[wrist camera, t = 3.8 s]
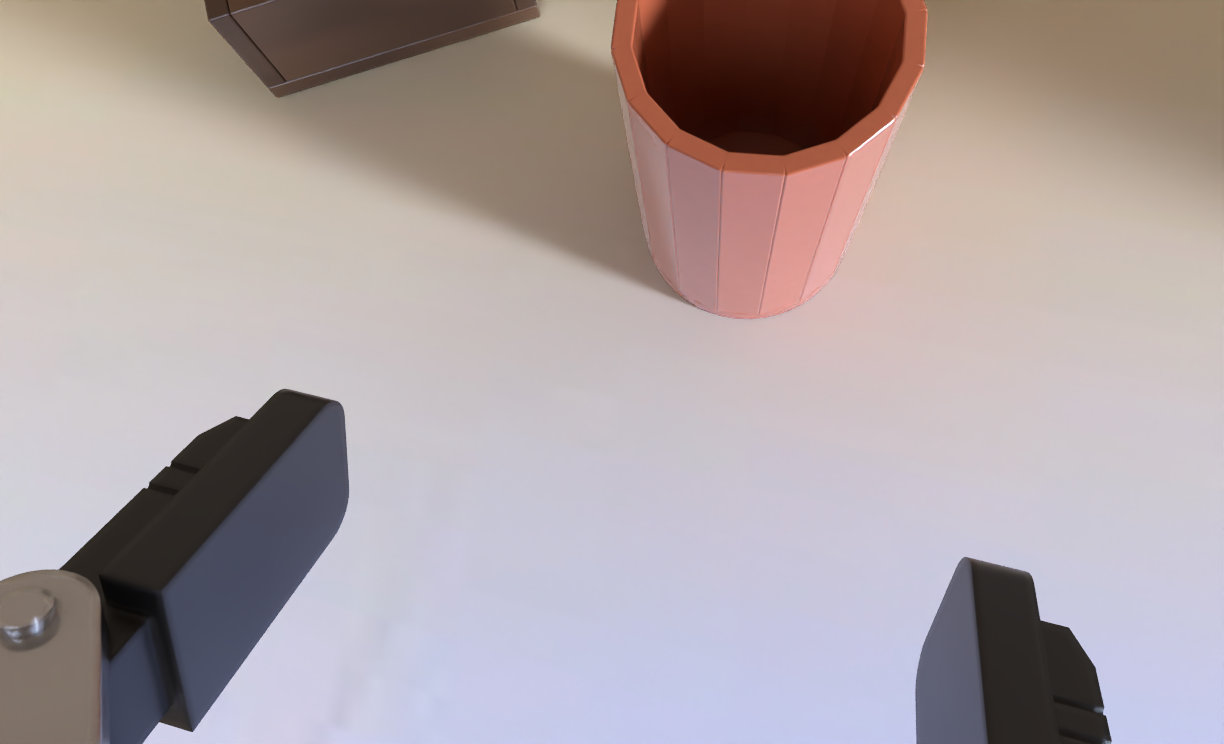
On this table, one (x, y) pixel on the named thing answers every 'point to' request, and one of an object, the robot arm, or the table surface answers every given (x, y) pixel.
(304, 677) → the table surface
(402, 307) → the table surface
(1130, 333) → the table surface
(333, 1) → the dark brown open box
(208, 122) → the table surface
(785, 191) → the cup
